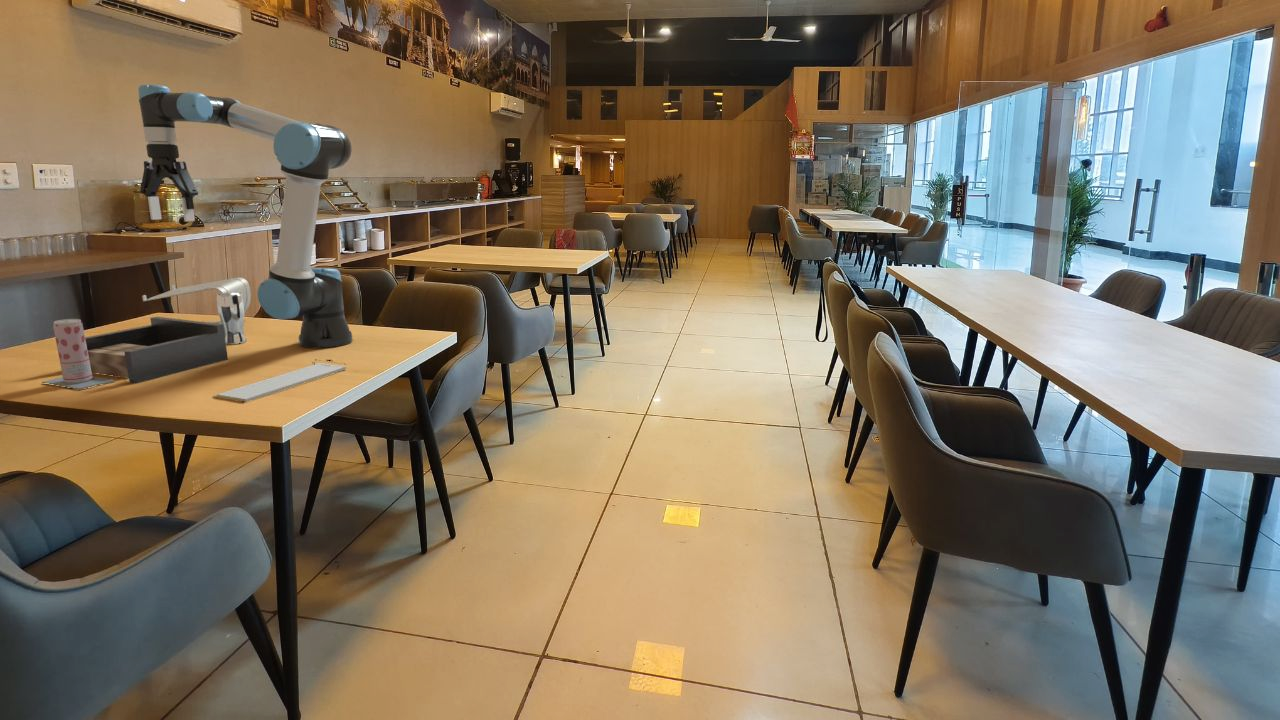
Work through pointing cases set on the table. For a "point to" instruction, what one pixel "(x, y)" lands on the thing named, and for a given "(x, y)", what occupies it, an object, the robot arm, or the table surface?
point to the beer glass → (232, 316)
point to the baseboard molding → (280, 382)
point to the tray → (166, 347)
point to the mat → (83, 385)
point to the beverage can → (72, 351)
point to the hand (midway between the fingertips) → (172, 220)
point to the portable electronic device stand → (222, 286)
